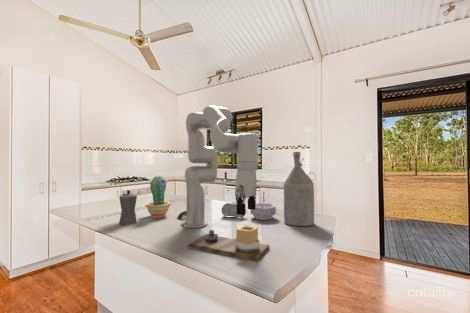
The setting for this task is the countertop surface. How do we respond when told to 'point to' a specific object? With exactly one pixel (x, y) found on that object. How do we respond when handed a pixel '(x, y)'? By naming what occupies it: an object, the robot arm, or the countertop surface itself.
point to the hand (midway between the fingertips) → (246, 211)
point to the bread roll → (182, 214)
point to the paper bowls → (264, 211)
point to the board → (227, 248)
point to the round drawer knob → (211, 236)
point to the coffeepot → (128, 209)
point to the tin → (230, 210)
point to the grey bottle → (298, 196)
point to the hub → (247, 247)
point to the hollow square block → (247, 234)
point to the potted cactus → (158, 198)
